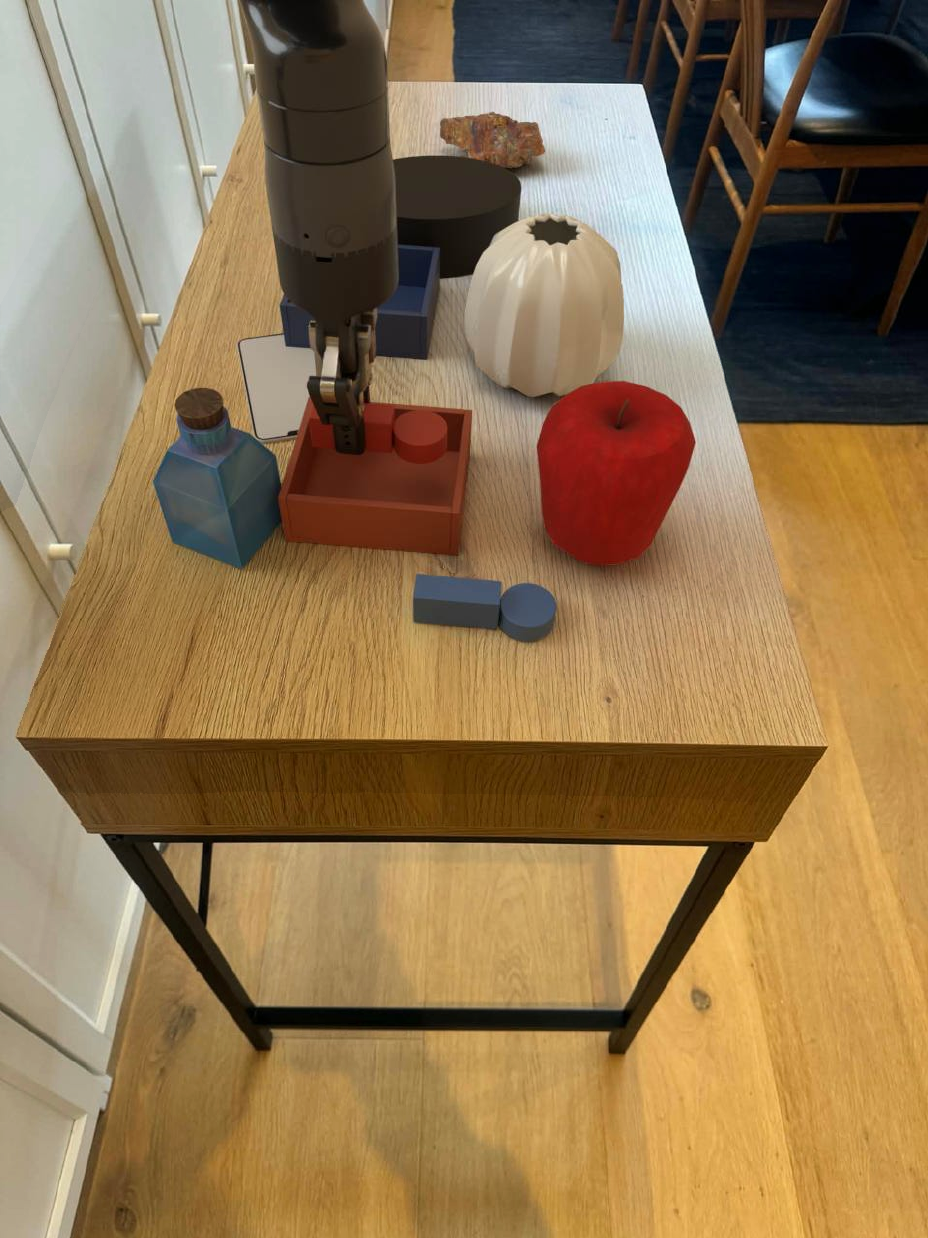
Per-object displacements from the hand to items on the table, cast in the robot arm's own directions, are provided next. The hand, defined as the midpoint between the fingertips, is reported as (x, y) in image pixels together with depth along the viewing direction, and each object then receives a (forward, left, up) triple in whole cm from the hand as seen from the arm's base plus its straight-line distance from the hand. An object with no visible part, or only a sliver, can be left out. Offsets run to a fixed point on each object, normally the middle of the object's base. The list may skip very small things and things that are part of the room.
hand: (353, 438), depth 67 cm
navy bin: (-3, +24, -6) cm, 25 cm away
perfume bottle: (-9, -5, -6) cm, 12 cm away
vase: (+14, +18, -6) cm, 23 cm away
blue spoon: (+11, -12, -6) cm, 17 cm away
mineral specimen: (+7, +58, -6) cm, 59 cm away
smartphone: (-9, +13, -6) cm, 17 cm away
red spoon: (+2, 0, 0) cm, 2 cm away
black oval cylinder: (+2, +39, -6) cm, 39 cm away
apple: (+19, -3, -6) cm, 20 cm away
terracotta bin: (+2, 0, -6) cm, 6 cm away
